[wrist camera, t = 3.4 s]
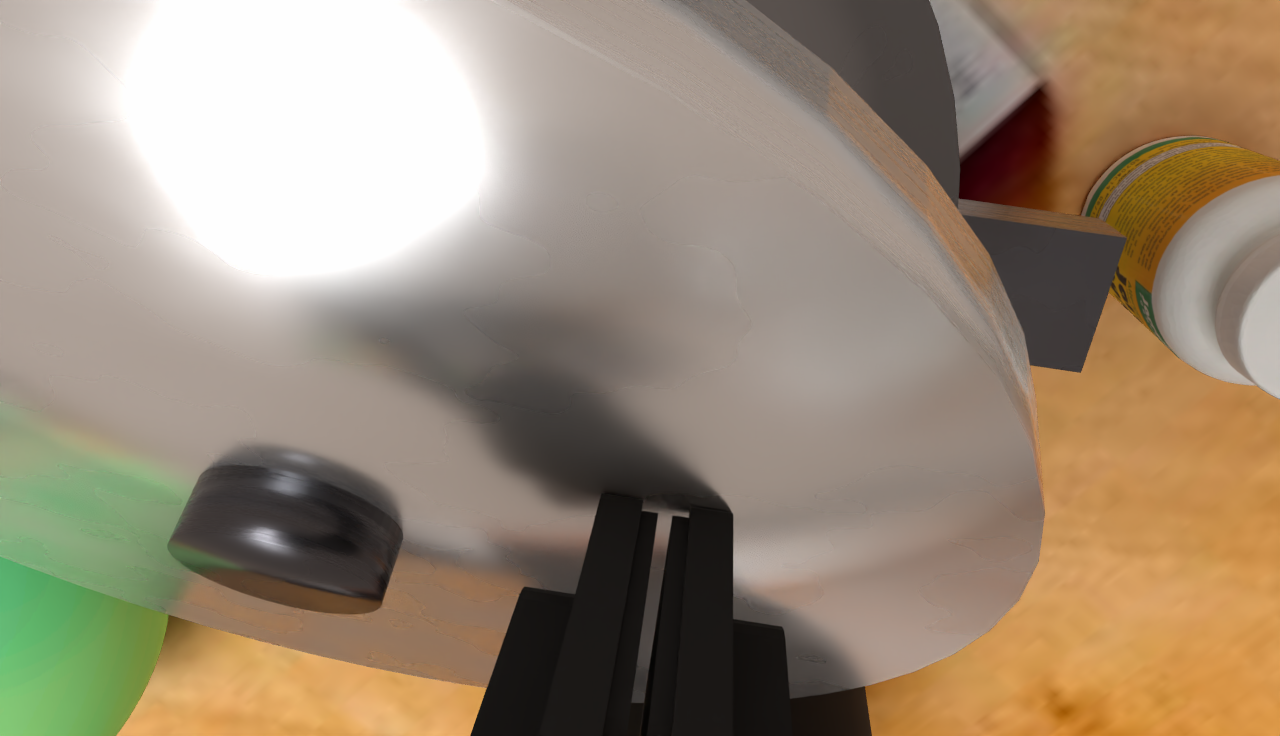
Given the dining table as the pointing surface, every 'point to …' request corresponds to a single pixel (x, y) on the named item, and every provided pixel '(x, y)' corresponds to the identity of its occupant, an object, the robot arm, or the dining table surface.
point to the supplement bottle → (1200, 252)
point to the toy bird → (70, 655)
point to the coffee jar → (809, 715)
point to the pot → (926, 121)
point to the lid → (493, 327)
